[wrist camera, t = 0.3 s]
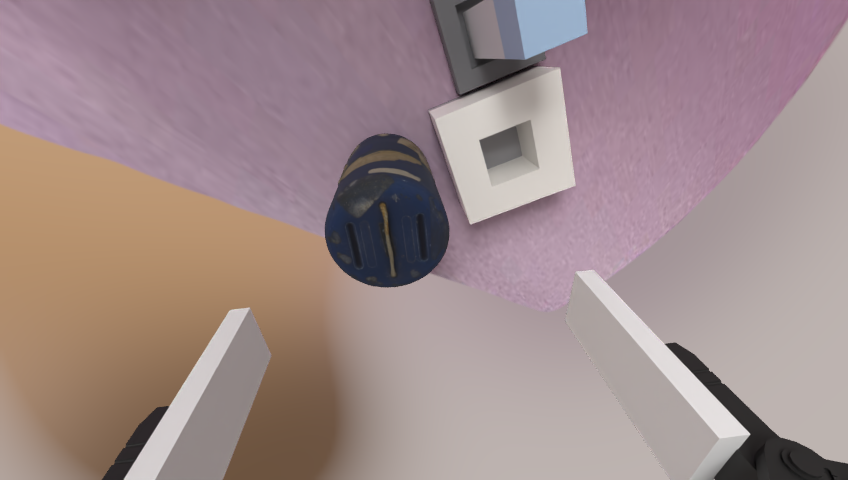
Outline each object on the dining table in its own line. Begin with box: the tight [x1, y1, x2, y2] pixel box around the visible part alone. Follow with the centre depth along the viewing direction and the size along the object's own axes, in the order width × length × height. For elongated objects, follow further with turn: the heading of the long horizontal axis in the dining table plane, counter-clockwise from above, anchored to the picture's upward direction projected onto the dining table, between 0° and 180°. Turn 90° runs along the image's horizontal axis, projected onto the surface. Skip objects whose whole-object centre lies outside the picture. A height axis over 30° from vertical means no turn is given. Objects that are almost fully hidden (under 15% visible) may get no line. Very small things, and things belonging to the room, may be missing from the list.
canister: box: [325, 134, 449, 287], centre depth 30 cm, size 10×10×18 cm
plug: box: [463, 0, 588, 60], centre depth 25 cm, size 4×4×14 cm
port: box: [428, 66, 575, 225], centre depth 35 cm, size 12×12×6 cm
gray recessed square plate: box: [430, 0, 546, 95], centre depth 31 cm, size 9×9×2 cm
